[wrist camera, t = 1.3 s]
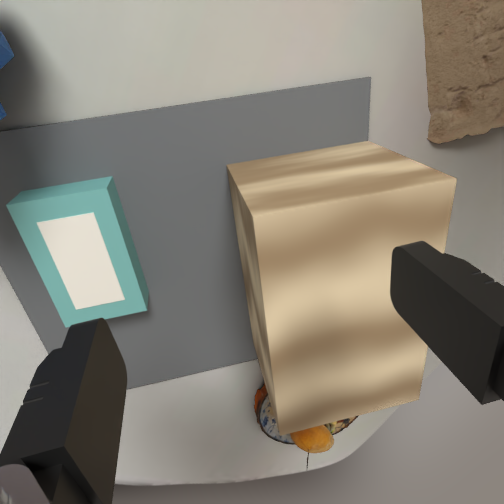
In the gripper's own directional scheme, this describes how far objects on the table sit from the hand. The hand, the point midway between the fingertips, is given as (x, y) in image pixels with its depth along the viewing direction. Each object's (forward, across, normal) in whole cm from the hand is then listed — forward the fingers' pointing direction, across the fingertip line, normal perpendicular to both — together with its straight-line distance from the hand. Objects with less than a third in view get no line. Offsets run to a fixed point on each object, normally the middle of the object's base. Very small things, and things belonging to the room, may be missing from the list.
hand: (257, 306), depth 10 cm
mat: (+16, +2, +7) cm, 18 cm away
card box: (+16, +9, +4) cm, 19 cm away
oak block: (+16, -6, +8) cm, 19 cm away
